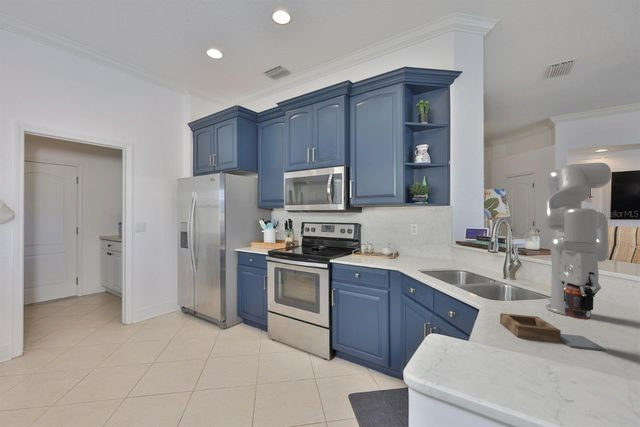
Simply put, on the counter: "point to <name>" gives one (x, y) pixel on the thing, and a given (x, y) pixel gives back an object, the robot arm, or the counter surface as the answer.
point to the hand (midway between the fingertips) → (577, 305)
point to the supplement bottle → (575, 303)
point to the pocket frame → (530, 327)
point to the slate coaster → (580, 342)
